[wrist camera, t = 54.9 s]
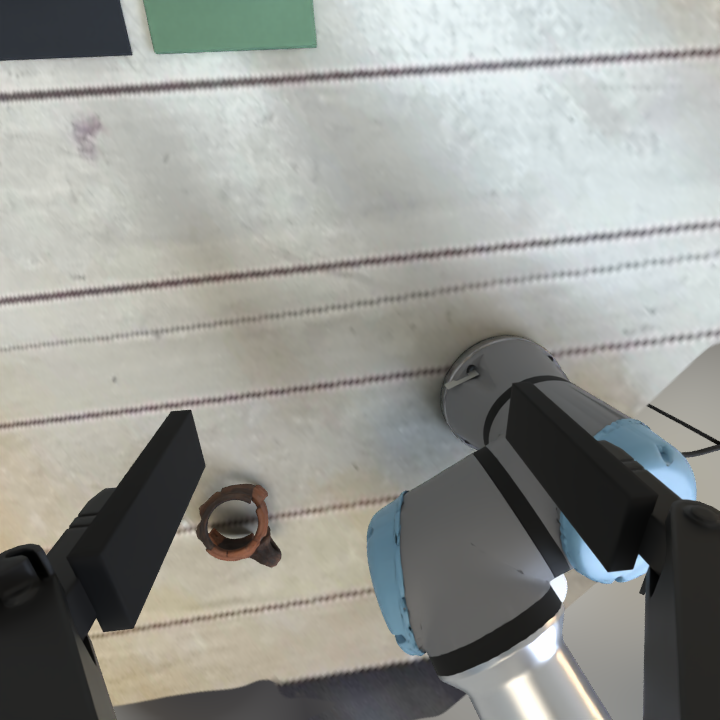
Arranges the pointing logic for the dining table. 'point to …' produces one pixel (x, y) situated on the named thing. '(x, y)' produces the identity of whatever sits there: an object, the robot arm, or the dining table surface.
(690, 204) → the dining table surface
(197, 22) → the sage mat
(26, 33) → the slate mat
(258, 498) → the brown notched ring
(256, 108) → the dining table surface
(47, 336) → the dining table surface
